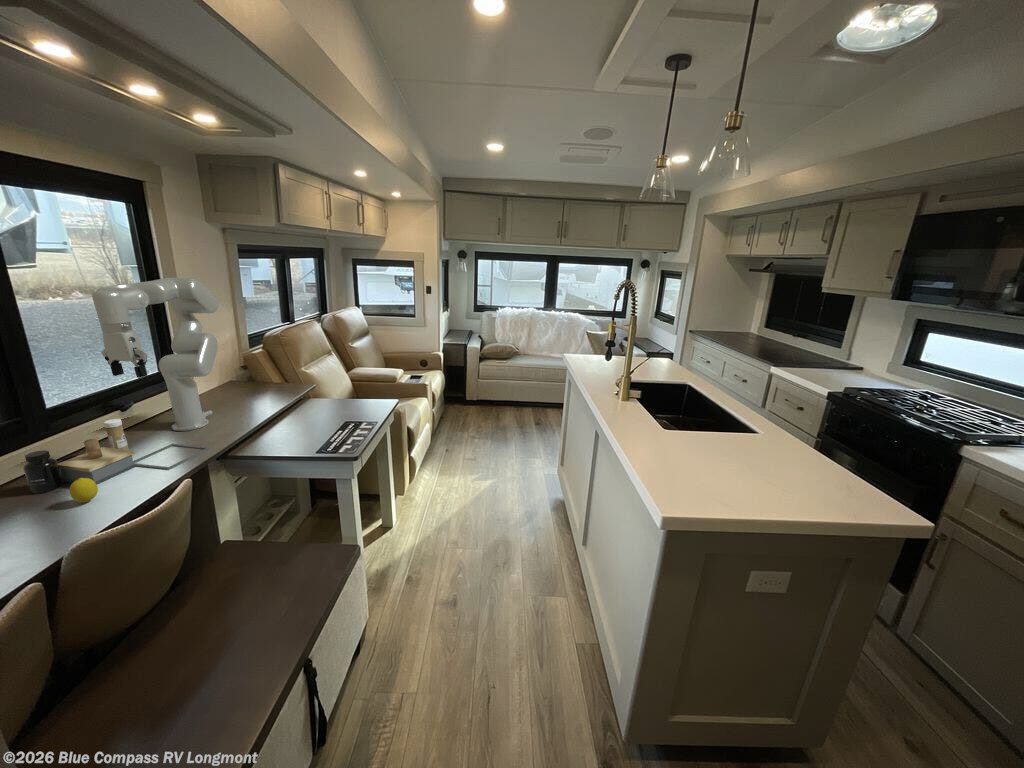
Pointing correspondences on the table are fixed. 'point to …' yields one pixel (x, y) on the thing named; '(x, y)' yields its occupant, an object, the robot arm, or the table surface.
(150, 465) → the picture frame
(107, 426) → the sprinkles bottle
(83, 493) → the lemon
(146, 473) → the table surface
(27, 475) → the supplement bottle
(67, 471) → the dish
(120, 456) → the lid
